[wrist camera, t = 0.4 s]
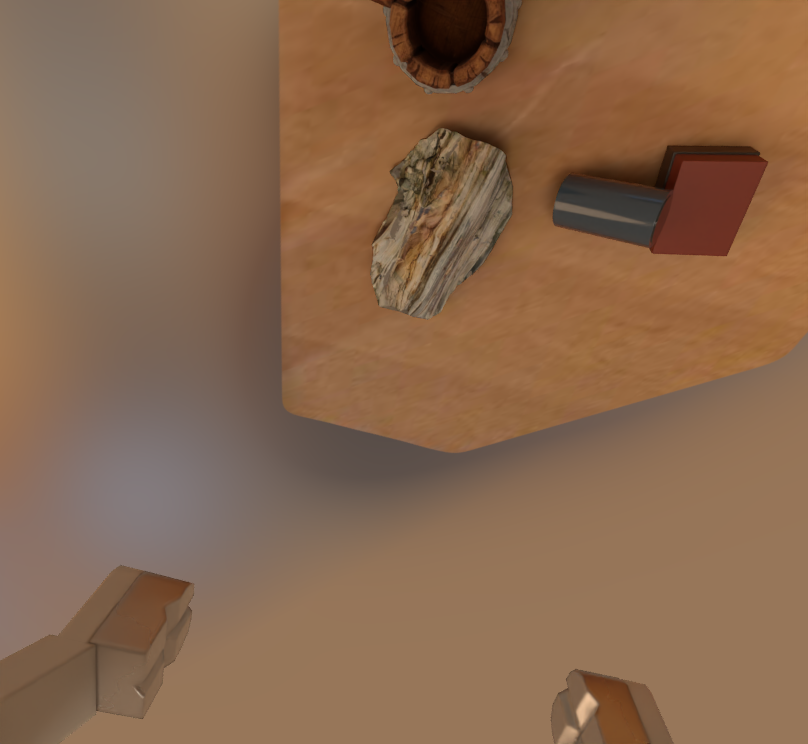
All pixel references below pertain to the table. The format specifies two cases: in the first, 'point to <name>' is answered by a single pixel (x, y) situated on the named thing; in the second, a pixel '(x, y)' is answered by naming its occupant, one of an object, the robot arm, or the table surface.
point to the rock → (440, 222)
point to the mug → (449, 40)
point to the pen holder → (612, 209)
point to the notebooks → (706, 197)
